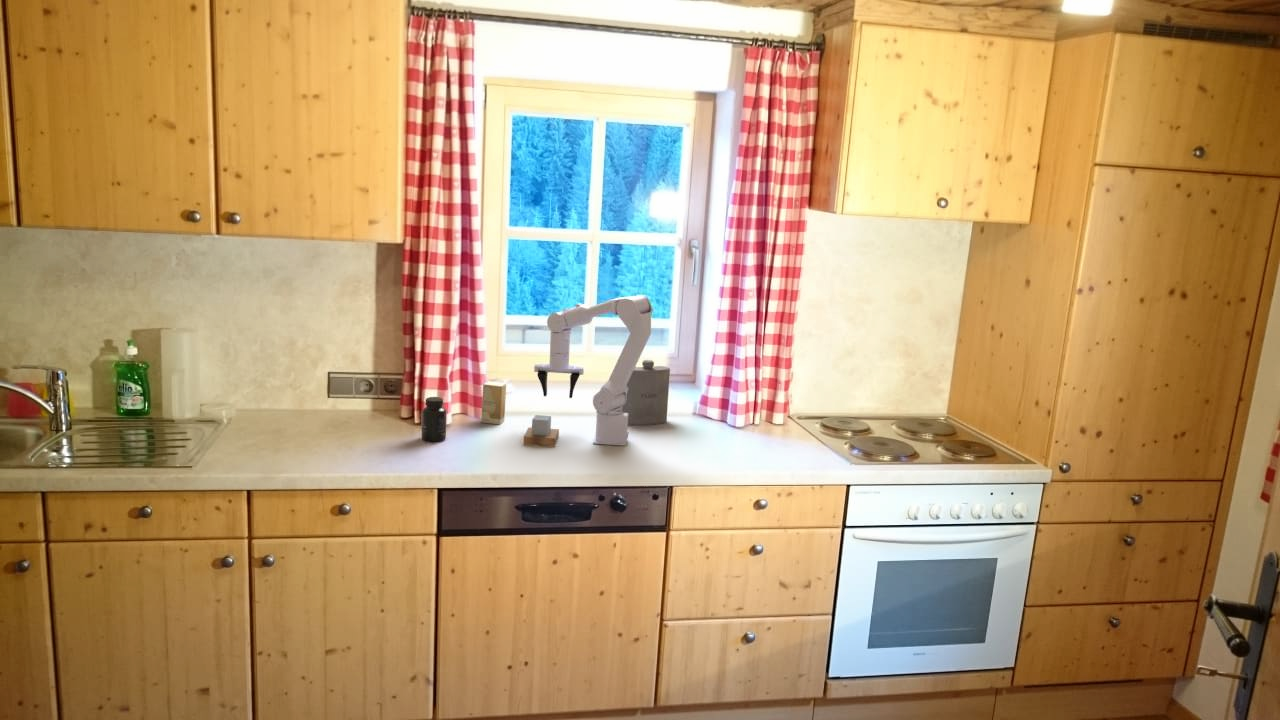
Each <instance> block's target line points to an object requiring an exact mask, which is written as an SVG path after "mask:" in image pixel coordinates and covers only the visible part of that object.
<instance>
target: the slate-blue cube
mask: <svg viewBox="0 0 1280 720" xmlns="http://www.w3.org/2000/svg"><path fill="white" fill-rule="evenodd" d="M531 428H532V434H534V435H546V436H547V435H548V434H549V433H550V431H551V429H552V415H540V414H539V415H538V414H536V415H534V417H533V418H532V420H531Z"/></svg>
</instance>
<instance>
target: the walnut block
mask: <svg viewBox="0 0 1280 720" xmlns="http://www.w3.org/2000/svg"><path fill="white" fill-rule="evenodd" d="M559 433H560V429H559V428H551V431H550V433H549V434H548V435H547V436H546V435H534V434H532V426H531V427H527V429H526V431H525V434H524V436H523V446H533V445H538V446H537V447H539V446H540V447H550V446H553V448H555V447H556V446H555V445H557V443H558V440H559V438H560V436H559V435H560V434H559Z"/></svg>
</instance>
